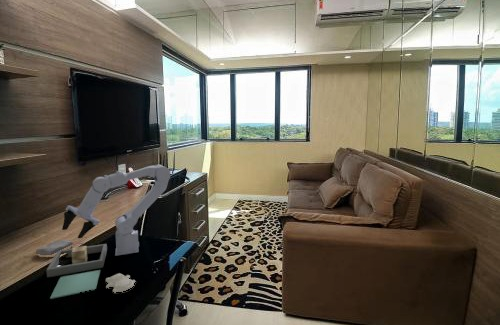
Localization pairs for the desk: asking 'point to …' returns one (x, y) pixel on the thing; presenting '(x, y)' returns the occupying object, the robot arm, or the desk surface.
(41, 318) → the desk surface
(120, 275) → the white fluffy flat lump
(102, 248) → the box
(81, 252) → the maple block
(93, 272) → the teal mat
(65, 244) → the stone block
